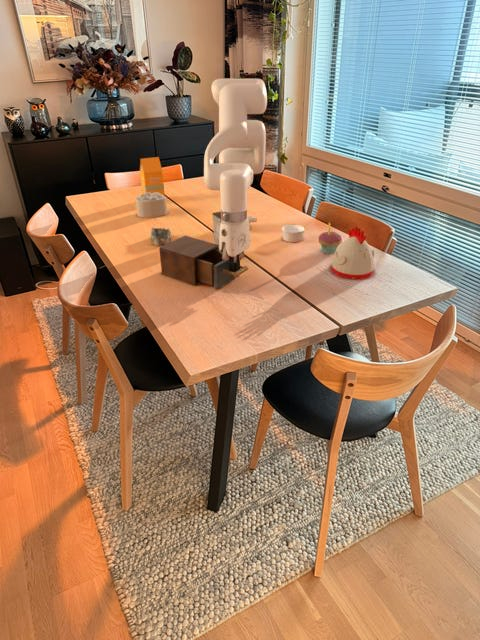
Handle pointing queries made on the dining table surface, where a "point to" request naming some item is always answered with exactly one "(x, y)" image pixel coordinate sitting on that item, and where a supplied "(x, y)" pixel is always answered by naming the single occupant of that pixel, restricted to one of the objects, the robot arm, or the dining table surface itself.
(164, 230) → the egg carton
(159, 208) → the lumpy-topped squat cylinder
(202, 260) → the drawer
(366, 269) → the kitchen timer
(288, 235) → the ramekin
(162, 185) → the orange juice
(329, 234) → the cupcake
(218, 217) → the coffee box
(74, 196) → the dining table surface
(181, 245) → the cabinet
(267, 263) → the dining table surface
